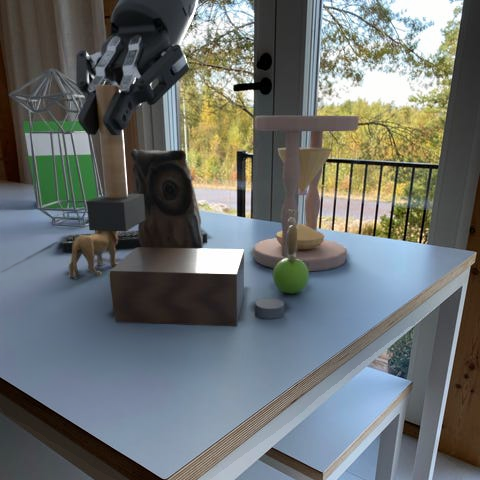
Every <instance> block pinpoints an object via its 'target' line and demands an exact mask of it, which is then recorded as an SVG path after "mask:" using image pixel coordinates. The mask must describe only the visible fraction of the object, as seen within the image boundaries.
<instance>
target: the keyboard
mask: <svg viewBox="0 0 480 480" xmlns="http://www.w3.org/2000/svg"><path fill="white" fill-rule="evenodd" d="M201 231H202V236H203V238H202V240H203V244H204V243H208V233H206V232H205V231H204V230H202V229H201ZM82 235H92V234H91V233H84V234H83V233H82V234H74V235H71V234H69V235H67V236H65V237H63V238H62V241H61V248H62V253H72V244H73V241H74V240H75V239H76V238H77V237H79V236H82ZM136 247H142V246H141V245H140V240H139V235H138V230H136V231H134V230H133V231H132V230H131V231H126V232H123V231H118V243H117V244H116V246H115V250H118V249H119V250H120V249H135V248H136Z"/></svg>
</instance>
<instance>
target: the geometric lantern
mask: <svg viewBox="0 0 480 480" xmlns="http://www.w3.org/2000/svg"><path fill="white" fill-rule="evenodd" d="M52 78H54V80H55V82H56V84H57V85H58V88H59V89H60V91H61V92H57V93H52V94H50V92H51V86H52V85H51V84H52ZM39 79H40V80H39ZM38 80H39V81H38ZM37 81H38V82H37ZM35 82H37V84H36V85H35V86H34V87H33V88H32V90H30V92H29V93H28V94H23V93H19V92H20V91H22V90H23V89H25V88H27V87H28V86H30V85H31V84H33V83H35ZM63 84H64V85H65V86H66V88H67V89H68V90H69V92H67V91H66V89H65V87H64V85H63ZM76 87H77V85H76V81H75V80H74V79H72V78H71V77H69V76H67V75H66V74H65V73H63V72H61V71H59V70H58V69H56V68H47V69H46V70H45V71H43V72H42V73H40V74H39V75H37V76H35V77H34V78H32V79H30V80H29V81H28V82H26V83H24V84H23V85H21V86H19V87H17V88H16V89H15V90H13V91H12V92H11V91H10V93H9V94H8V96H9V97H10V98H11V99H13V101H15V102H16V103H17V104H18V105H20V106H21V107H22V108H23V109H25V110H26V111H27V116H28V121H29V126H30V140H31V151H32V162H33V173H34V184H35V192H34V196H35V195H36V198H35V204H36V210H38V211H40V212H41V213H43V214H45V215H46V216H48V217H49V218H50V219H51V223H52V226H53V227H54V226H55V227H68V228H69V227H70V228H71V227H72V228H84V227H87V226H89V220H88V211H87V205H86V202H87V201H89V200H85V196H84V190H83V185H82V180H81V175H80V169H79V164H78V159H77V154H76V149H75V143H74V138H73V133H86V132H85V131H71V130H72V128H73V125H74V123H75V121H77V119H78V115H79V113H80V111H81V109H82V107H83V105H84V103H82V100H84V101H86V98H85V97H84V95H83V94H82V92H81V91H80V90H79V89H78V88H76ZM68 95H69V96H68ZM64 96H65V98H64ZM70 97H71V98H70ZM45 99H46V100H49V101H51V102H50V103H49V104H48V105H47V106H46V104H45V101H44V100H45ZM24 101H25V102H24ZM58 101H61V102H62V101H63V102H68V108H67V107H65V106H64V105H62V104H61V103H59V102H58ZM77 101H78V102H77ZM72 102H73V104H74V107H75V108H76V109H77V110H74V109H71V108H72V105H71V104H72ZM29 103H30V104H31V106H30V105H29ZM40 104H42V107H43V108H40ZM53 105H56V106H58V107H59V108H61V109H63V110H64V111H66V113H65V115H64V116H63V119H62V123H61V125H60V124H59V123H58V122H57V121H58V120H57V119H56V118H55V117H54V115H53V114H52V112H51V111H50V110H49V109H50V108H51V107H53ZM39 108H40V109H39ZM41 112H47V114H48V115H49V116H50V117H51V119H52V121H55V123H56V124H57V125H58V127H59V130H58V131H52V130H51V128H50V127H49V126H48V124H47V123H46V122H45V121H46V120H45V119H44V118H43V116H42V115H41ZM31 113H32V114H33V116H32V114H31ZM69 113H72V114H73V113H74V114H76V115H75V116H74V119H73V121H74V122H73V124H72V126H71V129H70V131H64V130H63V129H62V126H63V124H64V122H65V121H67V118H68V115H69ZM36 114H38V116H39V117H40V119H41V120H42V121H44V122H45V124H46V125H47V126H48V128H49V129H50V131H39V132H32V128H33V123H34V121H35V117H36ZM31 121H32V124H31ZM72 132H73V133H72ZM32 133H50V139H51V148H52V158H53V168H54V178H55V188H56V199H57V201H55V202H52V203H49V204H46V205H42V202H41V195H40V188H39V181H38V173H37V166H36V159H35V151H34V144H33V135H32ZM52 133H54V134H58V140H59V147H60V154H61V161H62V168H63V175H64V182H65V189H66V196H67V200H59V197H58V186H57V176H56V166H55V156H54V146H53V136H52ZM60 134H62V137H63V143H64V150H65V157H66V163H67V170H68V176H69V183H70V189H71V196H72V200H69V196H68V188H67V181H66V174H65V167H64V160H63V153H62V146H61V139H60ZM64 134H70V135H71V140H72V145H73V151H74V156H75V161H76V166H77V171H78V177H79V182H80V187H81V192H82V197H83V200H74V193H73V186H72V180H71V173H70V167H69V160H68V154H67V147H66V141H65V135H64ZM88 139H89V145H90V152H91V159H92V165H93V172H94V178H95V185H96V192H97V198H98V197H101V196H104V194H103V189H102V184H101V179H100V173H99V169H98V164H97V160H96V155H95V149H94V144H93V139H92V135H88ZM37 190H38V191H37ZM38 198H39V202H38ZM62 202H67V208H62V206H61V205H60V203H62ZM69 202H73V207H72V208H69ZM75 202H84V207H79V208H77V207H76V206H75ZM56 203H58V204H59V206H60V207H61V208H44V207H47V206H50V205H53V204H56ZM39 205H40V206H39ZM48 211H51V212H53V211H54V212H60V213H58V214H56V215H52V214H51V213H49V212H48ZM70 214H76V216H77V217H71V216H70ZM80 214H82V216H81V217H80ZM61 215H62V216H61ZM66 215H67V217H66ZM56 219H61V220H58V221H56ZM65 221H78V224H79V225H75V224H60V223H63V222H65ZM81 221H82V222H81ZM86 222H88V223H86ZM82 223H83V225H82Z"/></svg>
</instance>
